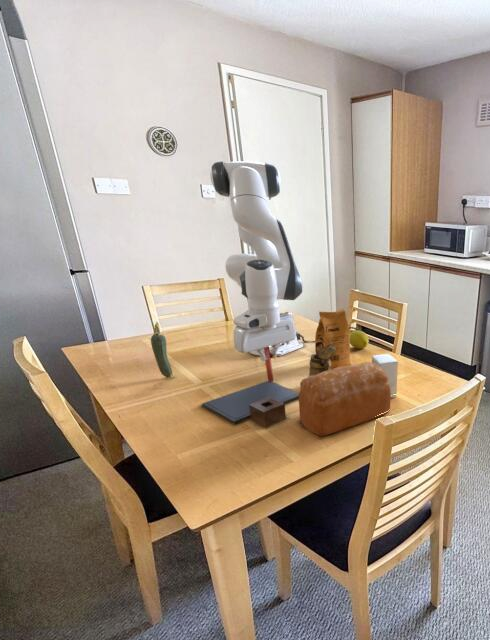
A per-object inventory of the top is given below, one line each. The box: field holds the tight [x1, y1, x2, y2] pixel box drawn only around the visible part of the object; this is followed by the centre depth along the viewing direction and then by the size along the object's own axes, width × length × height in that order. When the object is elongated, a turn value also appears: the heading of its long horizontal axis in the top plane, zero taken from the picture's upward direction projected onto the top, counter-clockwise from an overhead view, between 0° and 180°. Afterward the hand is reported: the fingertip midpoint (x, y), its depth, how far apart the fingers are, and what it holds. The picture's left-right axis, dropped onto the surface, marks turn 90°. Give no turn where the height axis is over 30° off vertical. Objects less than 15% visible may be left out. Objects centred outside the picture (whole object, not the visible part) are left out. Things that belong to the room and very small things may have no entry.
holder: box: [249, 397, 287, 429], centre depth 118 cm, size 7×7×5 cm
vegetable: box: [150, 321, 174, 379], centre depth 137 cm, size 4×4×20 cm
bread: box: [298, 361, 391, 437], centre depth 120 cm, size 14×26×16 cm, turn 133°
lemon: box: [349, 330, 370, 350], centre depth 180 cm, size 11×8×8 cm
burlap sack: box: [308, 345, 336, 377], centre depth 137 cm, size 9×14×18 cm, turn 35°
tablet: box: [201, 380, 299, 425], centre depth 129 cm, size 24×17×1 cm
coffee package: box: [314, 308, 351, 370], centre depth 157 cm, size 10×12×22 cm
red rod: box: [264, 347, 275, 383], centre depth 130 cm, size 2×2×14 cm
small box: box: [371, 353, 399, 399], centre depth 137 cm, size 8×6×13 cm
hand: (268, 359), depth 129 cm, fingers closed on red rod, 2 cm apart
